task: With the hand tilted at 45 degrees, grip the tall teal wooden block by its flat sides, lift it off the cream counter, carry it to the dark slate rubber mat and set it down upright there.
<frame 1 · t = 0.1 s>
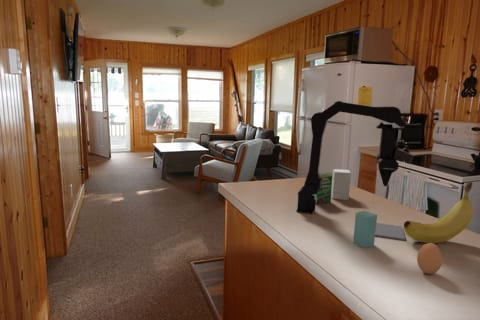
hand: (384, 183, 126), 15 cm above the countertop, tool pointing down, fingers open, 9 cm apart
banana: (434, 242, 111), on the countertop
slate mat: (384, 231, 119), on the countertop
teal block: (363, 243, 108), on the countertop
egg: (427, 273, 91), on the countertop
coffee box: (321, 203, 150), on the countertop
supplement box: (339, 197, 159), on the countertop
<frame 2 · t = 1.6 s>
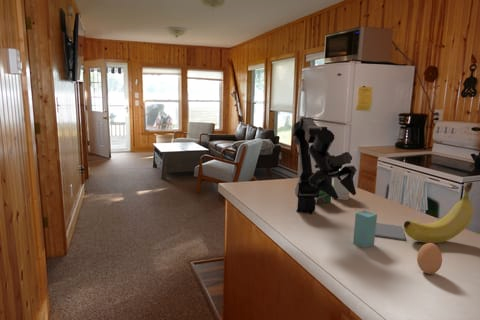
hand: (346, 196, 112), 13 cm above the countertop, tool tilted 45°, fingers open, 9 cm apart
nothing on the countertop moved.
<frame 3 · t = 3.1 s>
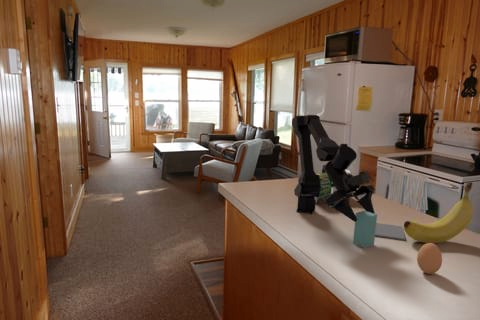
hand: (365, 218, 107), 8 cm above the countertop, tool tilted 45°, fingers open, 9 cm apart
nothing on the countertop moved.
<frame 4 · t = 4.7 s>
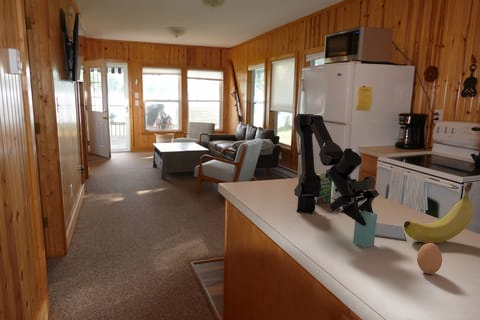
hand: (369, 223, 106), 7 cm above the countertop, tool tilted 45°, fingers closed on teal block, 4 cm apart
teal block: (363, 243, 108), on the countertop, touching gripper
everything else where it was.
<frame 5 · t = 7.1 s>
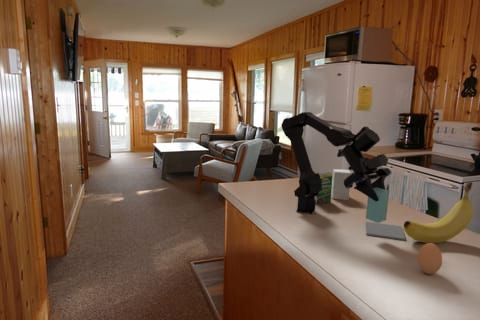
hand: (381, 199, 110), 13 cm above the countertop, tool tilted 45°, fingers closed on teal block, 4 cm apart
teal block: (375, 219, 112), point 6 cm above the countertop, touching gripper
everything else where it was.
when the fingers open (9 cm above the countertop, at t = 9.6 s): teal block drops 1 cm, resting on slate mat.
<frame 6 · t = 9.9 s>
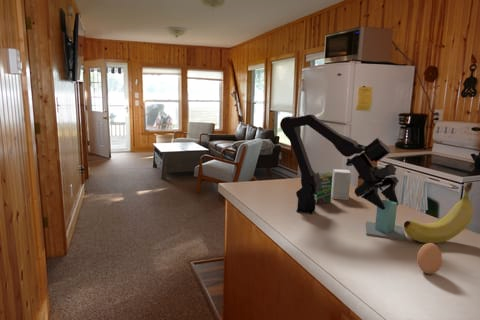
hand: (390, 207, 116), 9 cm above the countertop, tool tilted 45°, fingers open, 8 cm apart
teal block: (384, 229, 119), point 1 cm above the countertop, touching slate mat
everything else where it was.
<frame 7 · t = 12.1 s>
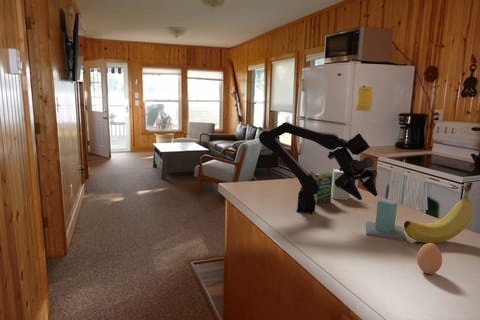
hand: (368, 197, 122), 10 cm above the countertop, tool tilted 45°, fingers open, 9 cm apart
nothing on the countertop moved.
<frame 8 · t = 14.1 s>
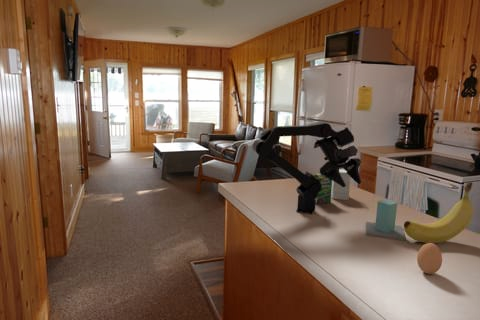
hand: (352, 185, 127), 14 cm above the countertop, tool tilted 45°, fingers open, 9 cm apart
nothing on the countertop moved.
at the end: teal block inside the target area on the slate mat (0.0 cm from its centre), point 0.6 cm above the slate mat's base; teal block tilted 0°; the gripper is holding nothing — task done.
